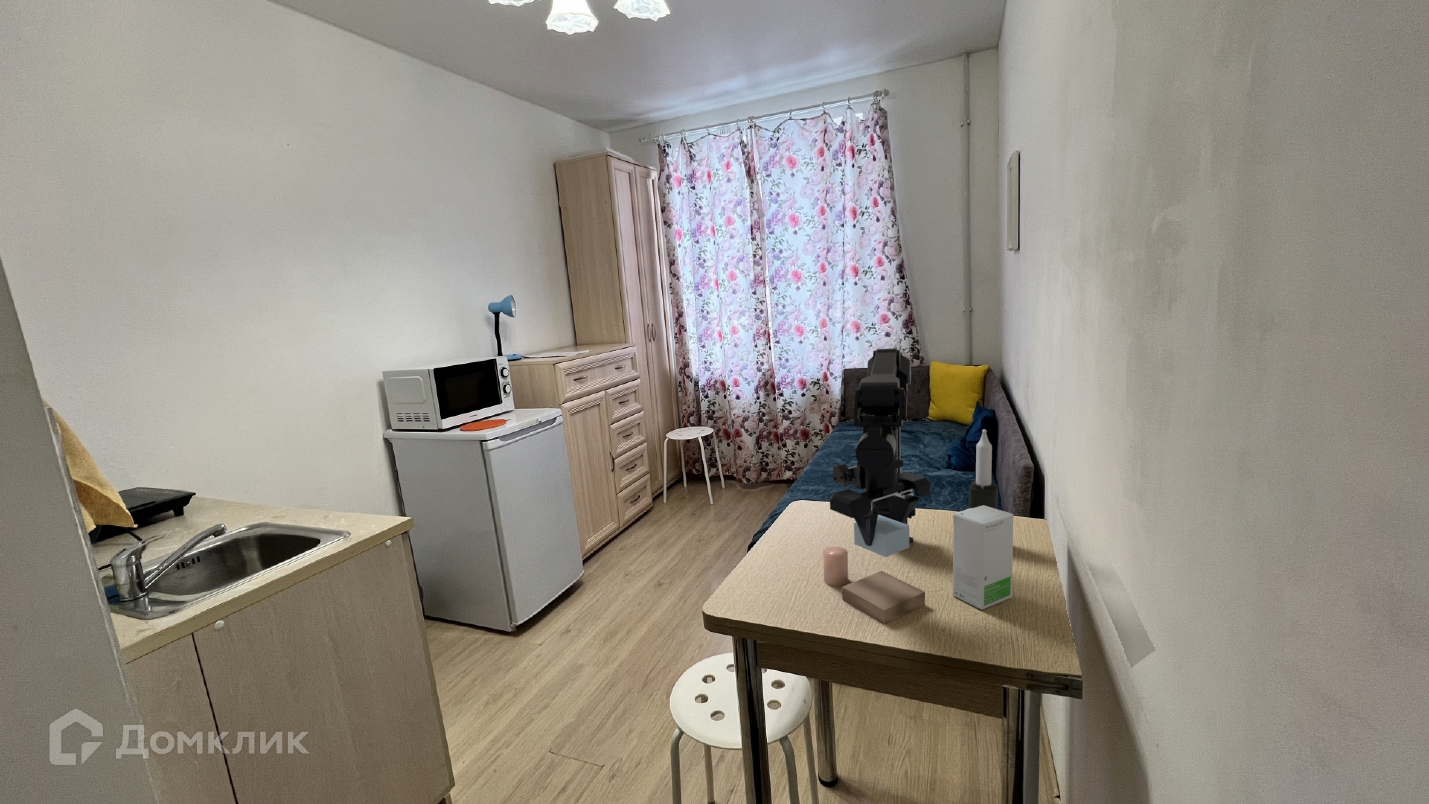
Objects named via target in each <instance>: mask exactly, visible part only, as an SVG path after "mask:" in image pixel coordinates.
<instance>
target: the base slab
mask: <svg viewBox="0 0 1429 804" xmlns="http://www.w3.org/2000/svg"><path fill="white" fill-rule="evenodd" d="M841 587H842V588H841V591H842V592H841V593H842V595H841V596H842V599H841V600H842V601H844V602H846V603H848V604H849V605H850V606H852V607H853V608H856V609H858V610H860V611H861V612H863V613H865V614H867V615H868V616H869V617H871V618H873V619H875V620H877V621H878V622H880V623H881V624H884V625H885V624H887V623H889V622H892V621H895V620H896V619H898V618H900V617H902V616H904V615H907V614H909V613H910V612H911V613H912V612H913V611H915V610H917V609H919V608H922V607H923V606H926V591H925V590H922V589H921V588H919V587H916V586H915V585H912V584H910V583H908V582H906V581H904V580H902V579H899V578H897V576H896V577H895V576H893V575H891V574H889V573H888V572H886V571H883V570H880V571H878V572H875V573H873V574H871V575H867V576H866V577H862V578H860V579H857V580H855V581H853V582H851V583H847V584H846V585H844V586H841Z"/></svg>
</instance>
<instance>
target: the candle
mask: <svg viewBox="0 0 1429 804" xmlns="http://www.w3.org/2000/svg"><path fill="white" fill-rule="evenodd" d="M981 431H982V434H981V437H980V439H979V441H977V442H978V443H976V446H975V447H976V448H975V449H976V454H975V455H976V456H975V457H976V458H975V459H976V461H975V462H976V463H975V480H973V481H971V483H970V485H969V487H968V509H969V508H975V507H979V506H983V505H984V506H988V507H991V508H994V509H998V493H999V492H998V491H999V490H998V489H999V485H998V484H996V483H995V482H994V481H992V466H993V464H992V460H993V457H992V456H993V453H992V452H993V446H992V444H991V443H990V441H989V438H988V435H987V432H988V431H987V430H986V429H982V430H981Z"/></svg>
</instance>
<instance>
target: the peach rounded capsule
mask: <svg viewBox="0 0 1429 804" xmlns="http://www.w3.org/2000/svg"><path fill="white" fill-rule="evenodd" d="M822 556H823V557H822V560H823V561H822V563H823V582H824V583H825V584H826V585H827V586H830V587H836V588H837V587H838V588H839V587H843V586H846V585H848V584H849V561H848V556H849V555H848V550H847V549H846V548H845V547H841V546H828V547H826V548H824V549H823V550H822Z"/></svg>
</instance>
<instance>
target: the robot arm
mask: <svg viewBox="0 0 1429 804" xmlns="http://www.w3.org/2000/svg"><path fill="white" fill-rule="evenodd" d="M911 366H912V365H911V359H909V358H907V357H906V356H904V355H903V354H901V349H897V348H896V347H895V348H894V347H893V348H877V349H873V352H872V357H870V358H869V359H868V360H867V367H866V377H863V378H862V379H861V380H860V382H859V386H858V387H856V388H855V391H854V392H855V393H854V406H853V420H852V421H853V422H852V423H853V427H862V434H861V437H860V439H859V441H858V443H857V446H856V449H855V459H856V465H853V466H850V467H849V466H847V464H845V463H844V464H839V465H835V466H834V465H833V466H832V478H833V482H834V483H835V484H836V485H841V486H842V488H846V487H847V486H854V487H855V489H858V490H863V491H864V492H860V493H859V492H858V491H854V490H851V489H844V490H842V491H838V492H834V493H833V494H831V496H830V497H829V510H830V511H833V512H835V513H838V514H840V515H843V516H845V517H849V518H850V519H854V521H855V522H856V523H857V525H858V527H859V530H860V532H861V535H862V537H863V540H864V542H865V544H866V545H867V546H871V545H872V542H873V539H874V534H875V528H876V523H877V518H878V515H881V516H884V517H887V518H890V519H892V520H895V521H898V522H901V523H904V524H907V525H909V523H908V519H912V517H914V516H916V504H917V503H918V502H920V501H921V500H920V499H921V497H923V496H927V495H930V494H931V483H930V481H929V480H928V478H927V477H925V476H923V475H918V474H915V473H912V472H909V471H904V472H903V471H902V468H903V467H904V460H902V459H901V458H902V457H901V454H902V453H901V428H902V427H903V422H904V421H907V418H908V417H907V413H908V412H907V409H908V394H907V393H908V385H911V384H912V367H911ZM914 494H915V495H916V496H915V495H914ZM913 541H914V538H913V537H911V536H909V543H911V542H913Z"/></svg>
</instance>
